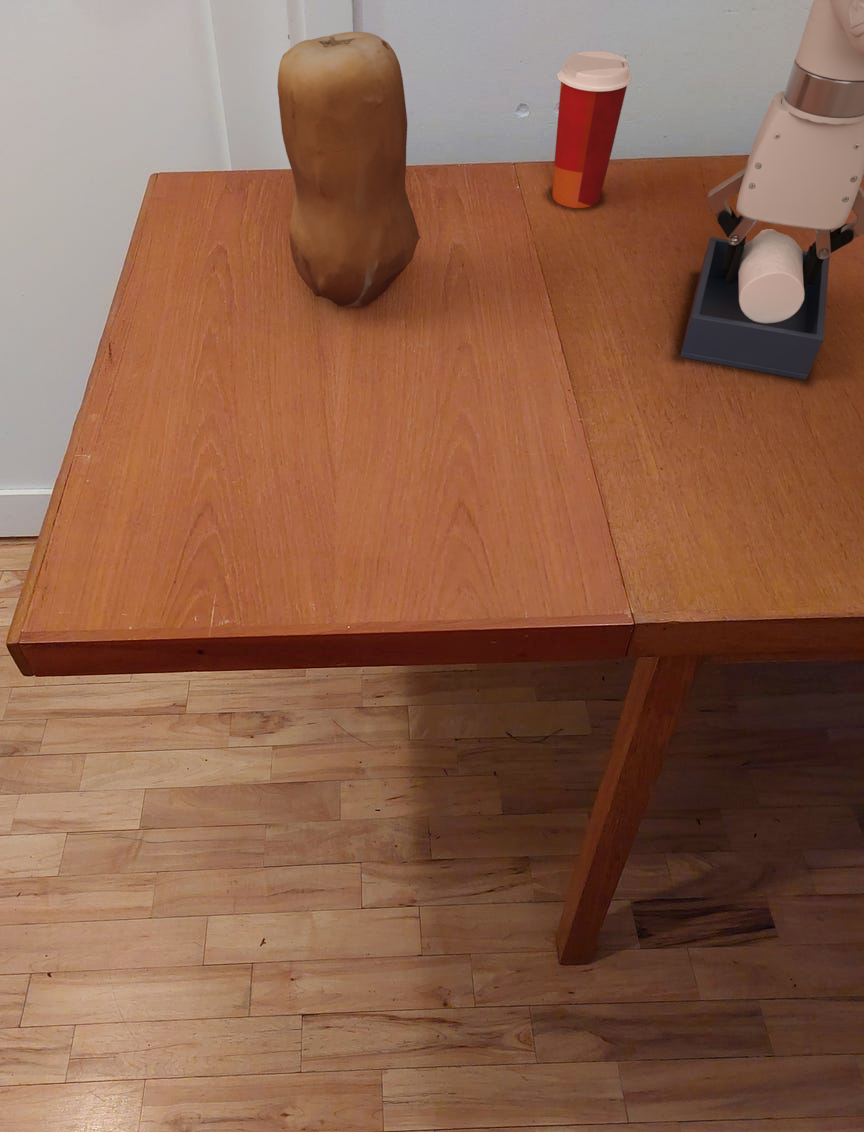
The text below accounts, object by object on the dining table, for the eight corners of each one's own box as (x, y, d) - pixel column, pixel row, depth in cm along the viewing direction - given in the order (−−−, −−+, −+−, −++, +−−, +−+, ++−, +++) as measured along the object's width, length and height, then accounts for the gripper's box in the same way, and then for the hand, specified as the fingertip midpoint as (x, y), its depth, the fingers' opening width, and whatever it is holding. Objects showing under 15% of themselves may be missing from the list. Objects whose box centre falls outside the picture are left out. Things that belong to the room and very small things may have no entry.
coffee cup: (607, 182, 114) (631, 50, 103) (610, 213, 109) (636, 78, 98) (541, 180, 115) (558, 48, 103) (542, 211, 110) (560, 76, 98)
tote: (806, 380, 88) (823, 339, 85) (679, 357, 91) (691, 316, 87) (813, 294, 98) (829, 254, 94) (699, 276, 100) (710, 236, 97)
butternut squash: (318, 256, 104) (300, 4, 84) (429, 273, 101) (438, 16, 82) (276, 321, 96) (246, 58, 76) (396, 340, 93) (398, 74, 74)
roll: (789, 265, 94) (809, 212, 90) (793, 327, 87) (815, 273, 83) (731, 258, 95) (747, 206, 91) (730, 319, 88) (748, 266, 84)
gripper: (939, 84, 77) (854, 279, 91) (733, 61, 81) (683, 251, 95) (942, 119, 73) (852, 318, 87) (725, 93, 76) (673, 287, 90)
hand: (764, 281), depth 91 cm, fingers closed on roll, 6 cm apart
